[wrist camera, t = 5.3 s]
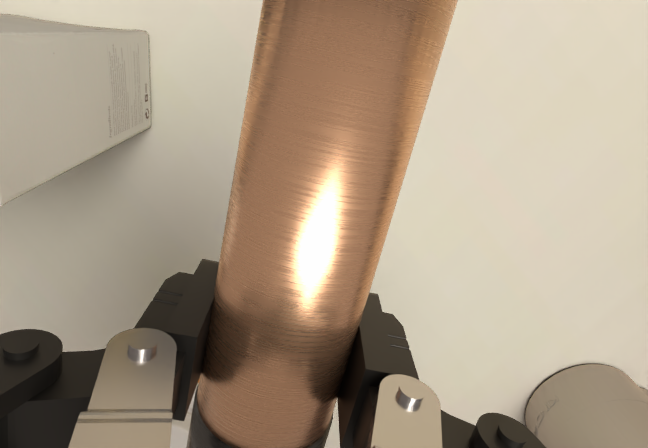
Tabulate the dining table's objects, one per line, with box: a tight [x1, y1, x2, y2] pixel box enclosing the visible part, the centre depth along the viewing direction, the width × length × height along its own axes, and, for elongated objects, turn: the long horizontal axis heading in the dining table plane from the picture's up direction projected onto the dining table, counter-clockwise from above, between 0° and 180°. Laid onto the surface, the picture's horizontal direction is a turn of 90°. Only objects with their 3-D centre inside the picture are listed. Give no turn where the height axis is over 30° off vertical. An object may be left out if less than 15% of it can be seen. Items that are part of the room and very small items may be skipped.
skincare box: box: [0, 14, 151, 206], centre depth 21 cm, size 8×6×15 cm
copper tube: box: [186, 0, 458, 448], centre depth 12 cm, size 17×4×4 cm, turn 167°
